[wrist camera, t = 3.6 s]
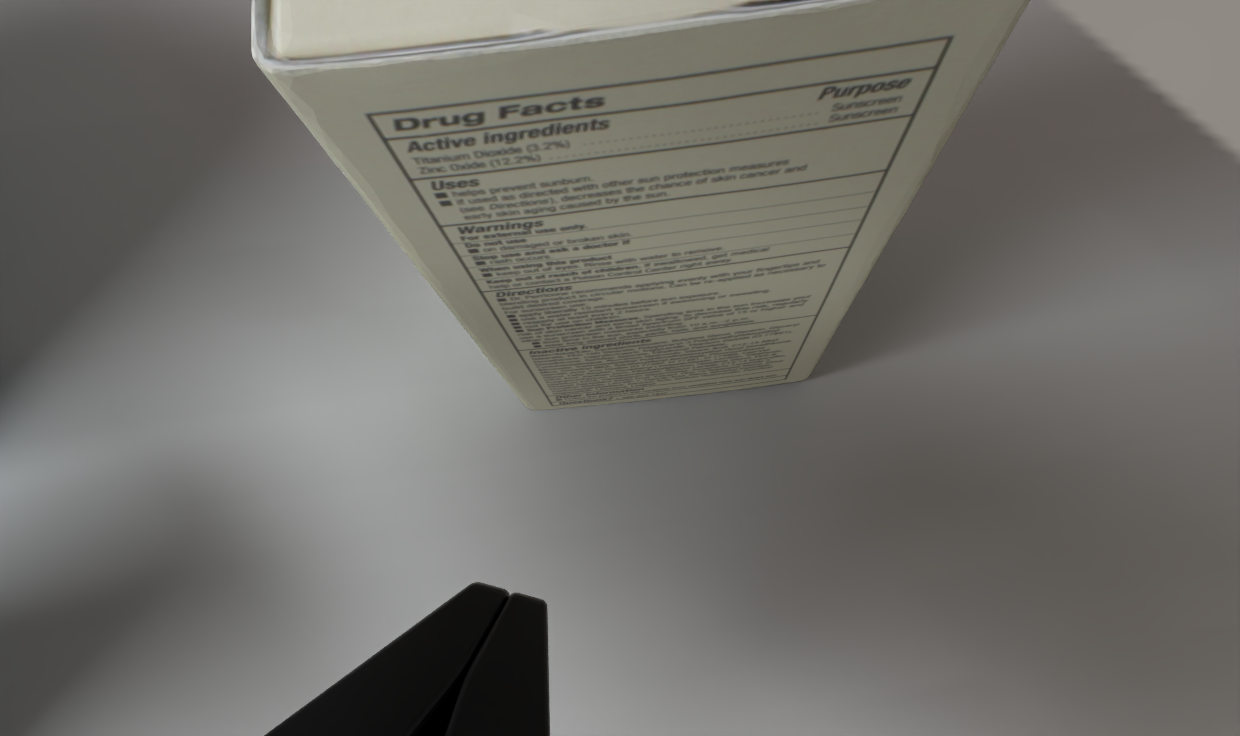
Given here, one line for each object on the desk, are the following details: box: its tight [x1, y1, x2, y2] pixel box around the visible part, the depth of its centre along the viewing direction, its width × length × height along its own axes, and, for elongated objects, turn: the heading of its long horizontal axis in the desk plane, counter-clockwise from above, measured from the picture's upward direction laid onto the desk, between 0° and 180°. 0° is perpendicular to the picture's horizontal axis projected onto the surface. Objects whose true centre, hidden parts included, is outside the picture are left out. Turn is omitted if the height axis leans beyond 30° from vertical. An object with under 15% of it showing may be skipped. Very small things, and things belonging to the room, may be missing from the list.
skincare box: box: [251, 0, 1030, 410], centre depth 13 cm, size 6×4×12 cm
